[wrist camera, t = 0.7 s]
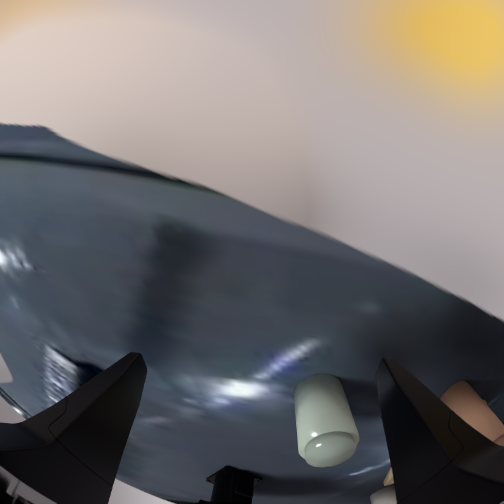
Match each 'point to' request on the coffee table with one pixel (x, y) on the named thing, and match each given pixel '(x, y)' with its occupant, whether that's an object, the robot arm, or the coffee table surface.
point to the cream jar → (384, 496)
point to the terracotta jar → (474, 411)
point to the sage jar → (324, 421)
